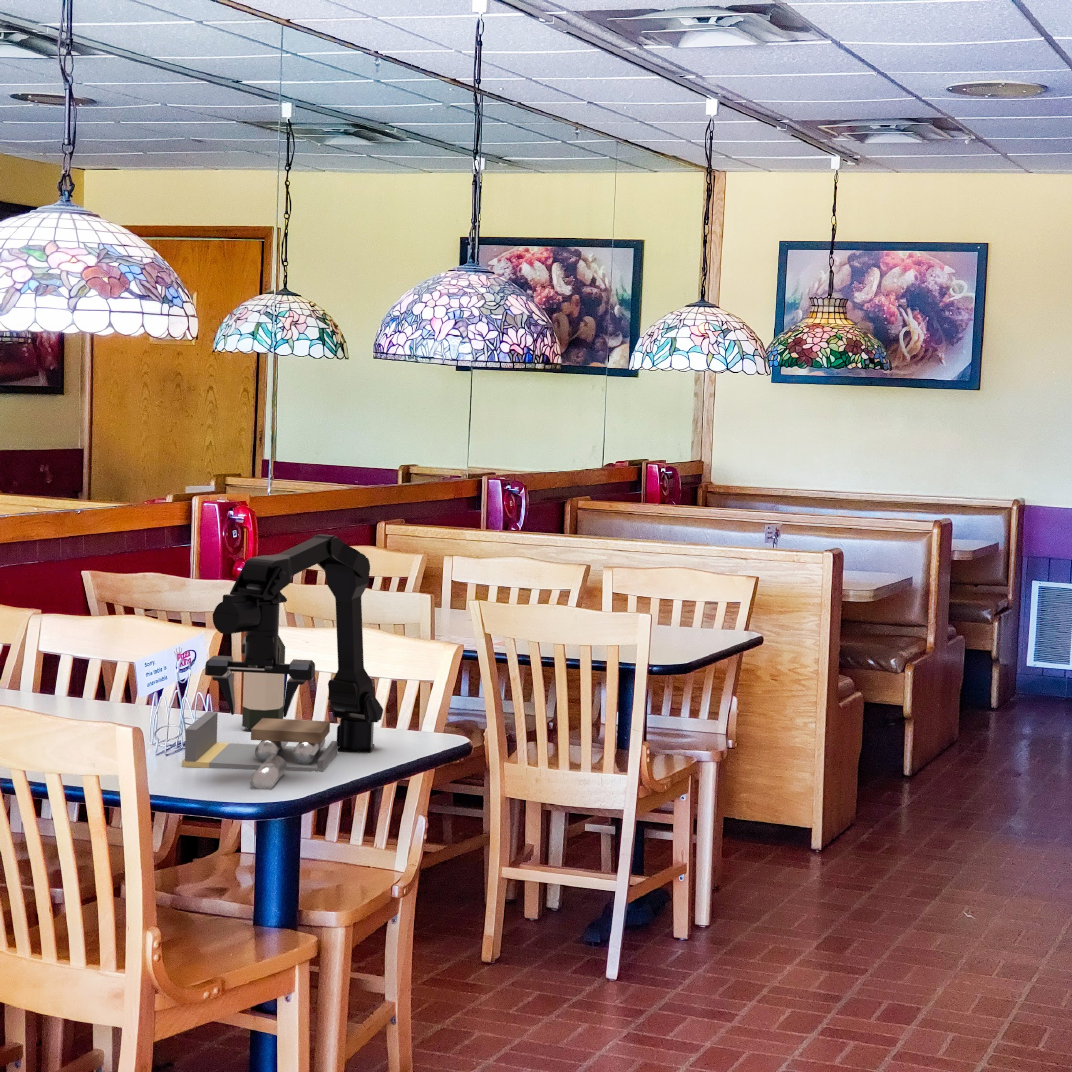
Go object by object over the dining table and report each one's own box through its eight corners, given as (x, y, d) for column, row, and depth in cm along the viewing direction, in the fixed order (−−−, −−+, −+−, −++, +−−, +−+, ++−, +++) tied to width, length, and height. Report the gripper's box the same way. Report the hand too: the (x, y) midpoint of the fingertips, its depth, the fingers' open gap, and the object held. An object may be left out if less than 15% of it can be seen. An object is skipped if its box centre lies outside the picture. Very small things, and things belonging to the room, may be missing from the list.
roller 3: (304, 749, 284) (304, 729, 283) (324, 750, 284) (325, 730, 283) (292, 764, 272) (292, 743, 272) (313, 765, 272) (314, 744, 271)
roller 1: (268, 747, 284) (268, 727, 284) (288, 748, 284) (289, 728, 284) (254, 762, 272) (255, 741, 272) (276, 763, 272) (276, 742, 272)
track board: (336, 753, 286) (338, 718, 285) (322, 773, 270) (324, 736, 269) (203, 746, 286) (204, 711, 286) (181, 766, 271) (182, 729, 270)
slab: (329, 731, 282) (330, 721, 282) (320, 743, 272) (321, 732, 272) (262, 728, 283) (262, 718, 283) (250, 739, 273) (251, 729, 273)
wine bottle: (243, 730, 302) (248, 585, 300) (240, 721, 310) (245, 580, 308) (284, 730, 304) (289, 586, 302) (280, 721, 312) (285, 580, 310)
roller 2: (260, 770, 267) (270, 751, 267) (280, 780, 267) (290, 761, 267) (245, 787, 255) (256, 767, 255) (266, 797, 255) (276, 777, 255)
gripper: (320, 625, 270) (316, 709, 271) (217, 620, 269) (214, 704, 270) (312, 633, 259) (309, 721, 260) (206, 628, 258) (202, 716, 259)
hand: (258, 715), depth 263 cm, fingers open, 9 cm apart
